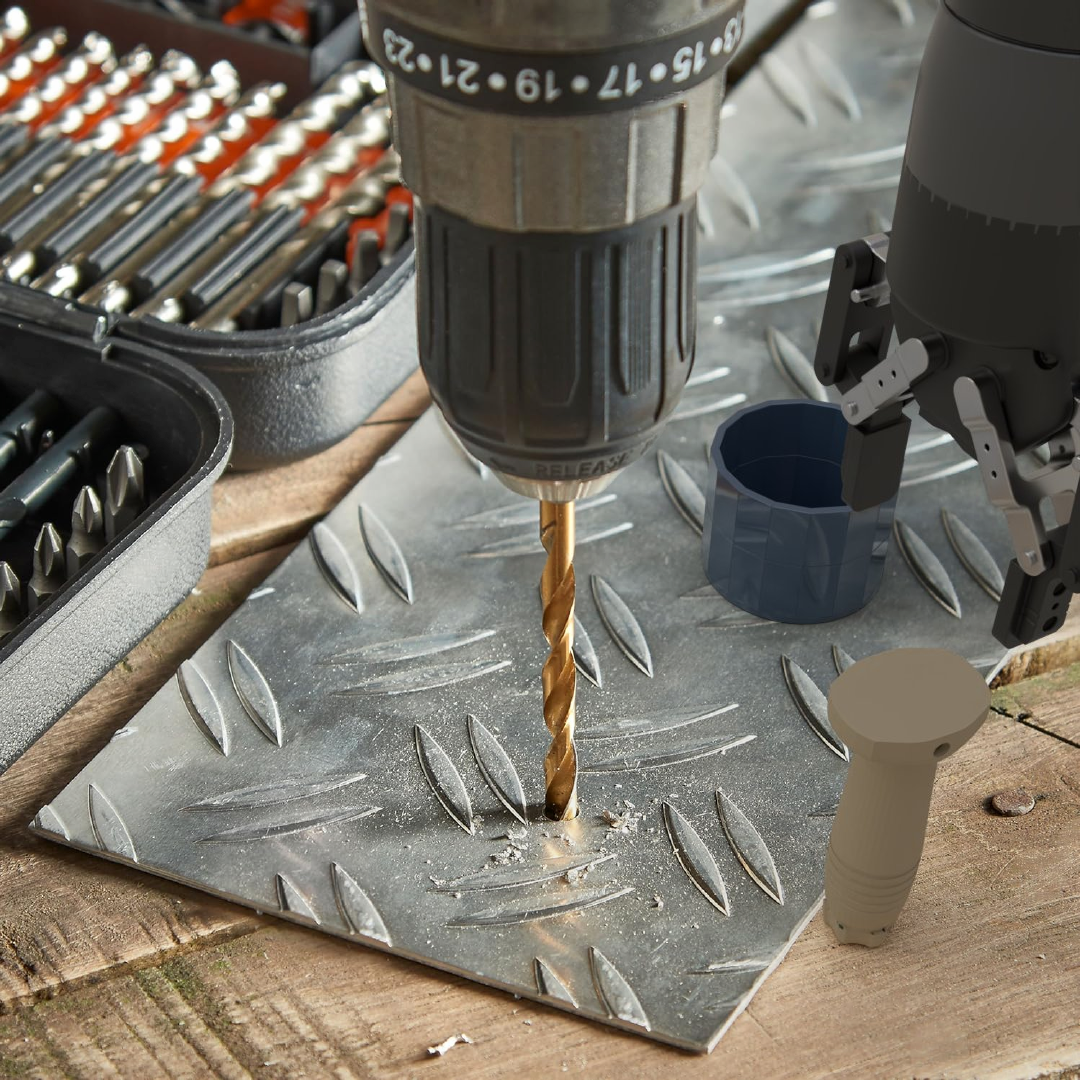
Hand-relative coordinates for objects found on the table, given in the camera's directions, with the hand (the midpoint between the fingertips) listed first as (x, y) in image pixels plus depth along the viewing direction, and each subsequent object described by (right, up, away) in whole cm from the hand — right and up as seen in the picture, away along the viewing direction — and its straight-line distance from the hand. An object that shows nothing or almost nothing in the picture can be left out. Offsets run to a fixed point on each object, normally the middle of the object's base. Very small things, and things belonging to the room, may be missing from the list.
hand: (939, 565), depth 56 cm
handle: (0, -17, +14) cm, 22 cm away
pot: (0, 0, +33) cm, 33 cm away
